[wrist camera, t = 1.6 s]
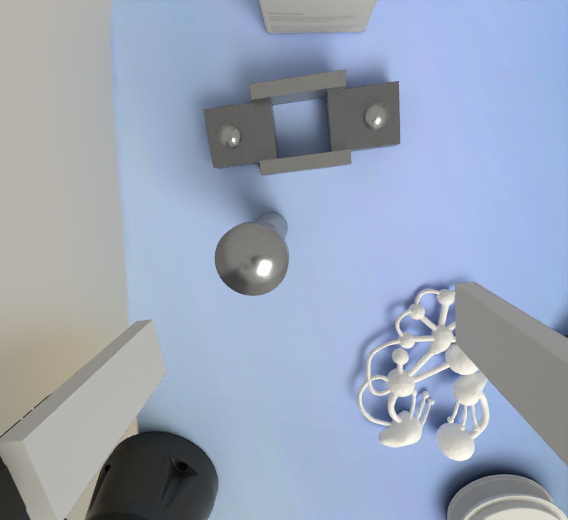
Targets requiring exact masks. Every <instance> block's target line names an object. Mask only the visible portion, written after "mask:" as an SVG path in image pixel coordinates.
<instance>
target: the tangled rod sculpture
mask: <svg viewBox="0 0 568 520" xmlns="http://www.w3.org/2000/svg"><path fill="white" fill-rule="evenodd" d="M426 293H434V294H437V296H436V298H437V301H438V302H439V303H440V304H442V308H441V312H440V317H439V321H438V325H437V326H436V325H435V324H434V323H432V322H431V321H430V320H429V319H428V318H426V317H425V316H424V314H425V309H424V308H423V306H422V305H420V304H419V300H420V298H421V297H422V295H423V294H426ZM454 294H455V290H453V291H450V290H448V289H442V290H440V291H438V290H434V289H425V290H422V291H421V292H420V293H419V294H418V295H417V296H416V299H415V303H414V304H412V305H410V306H409V308H408V310H406V311H404V312H402V313H401V314H400V315H399V316H398V317H397V319H396V321H395V328H396V331H397V333H398V334H399V336H398V339H395V340H392V341H388V342H386V343H383V344H381V345H379V346H377V347H376V348H374V349H373V350H372V351H371V352H370V353H369V355H368V357H367V361H366V379H367V380H365V382H364V383H363V384H362V385H361V387H360V389H359V392H358V397H357V401H358V405H359V408H360V410H361V412H362V413H363V414H364V416H365V417H367V418H368V419H369V420H370V421H372V422H374V423H378V424H381V425H386V426H387V427H386V428H385V429H383V430H382V431H381V432H380V433H379V441H380V442H381V443H382V444H383V445H386V446H390V447H401V446H405V445H409V444H413V443H415V442H417V441H418V440H419V439H420V437H421V434H422V427H423V425H424V423H425V421H426V418H427V416H428V413H429V410H430V406H431V405H433V404H434V403H435V401H434V399H433V398H428V397H429V392H427V391H423V392H422V400H421V403H420V407H419V410H418V412H417V414H416V416H414V415H413V413H414V409H415V403H416V395H417V389H415V388H414V387H415V383H416V382H418V381H420V380H422V379H425V378H427V377H429V376H431V375H433V374H436V373H438V372H440V371H442V370H444V369H447V368H449V367H450V368H451V369H452V370H453V371H454V372H456V373H458V374H461V376H460V377H459V378H458V379H457V380H456V381H455V382H454V383H453V385H452V394H453V396H454V398H455V399H456V405H455V408H454V412H453V414H452V416H451V417H448V418H447V421H448V423H444V424H443V425H441V426H440V428H439V429H438V431H437V434H436V439H437V443H438V446H439V448H440V450H441V451H442V452H443V453H444V454H445V455H446V456H447V457H449V458H450V459H453V460H457V461H463V460H467V459H469V458H470V457H471V456H472V454H473V452H474V445H475V444H474V441H473V439H474V438H476V437H477V436H478V435H479V434H480V433H481V432H482V431H483V430H484V429H485V428H486V426H487V424H488V421H489V418H490V417H489V408H488V402H487V398H486V396H485V394H484V393H483V392H482V390H483V388H484V386H485V384H486V382H487V377H486V376H485V375H484V374H483V373H482V372H481V371H477V370H478V368H477V367H476V365H475V364H474V363H473V362H472V361H471V360H470V359H469V358H468V357H467V356H466V355H465V353H464V352H463V351H462V350H461V349H460V348H459V347H458V346H457V345H456V343H453V344H451V342H456V336H453V333H452V330H453V329H455V321H454V322H453V323H451V324H450V325H448V326H445V321H446V317H447V313H448V308H449V305H450V304H452V303H453V301H454V299H455V296H454ZM407 314H408V315H409V316H410V317H411V318H412V319H416V320H418V319H420V320H421V321H422V322H424V323H425V324H426V325H427V326H428V327H429V328H431V329H432V333H431V335H429V336H413V335H412V334H411V333H409V332H403V333H402V331H401V330H400V327H399V322H400V320H401V319H402V318H403V317H404V316H405V315H407ZM420 341H431V343H430V346H429V351H428V352H427V353H426V354H425V355H424V356H423V357H422V358H421V359H420V360H419V361H418V362H417V363H416V364H415V365H414V366H413V367H412V368H411V369H410V370H409V371H407V370H405V369H403V364H405V363H407V361H408V359H409V357H408V353H407V352H406V351H405V350H404V349H401V348H398V349H395V350H394V351H393V353H392V358H393V360H394V362H395V363H397V368H396V369H393V370H391V371H390V372H389V373H388V375H387V377H386V376H383V375H373V376H372V377H371V376H370V364H371V358H372V357H373V355H374V354H375V353H376V352H378V351H379V350H381V349H382V348H385V347H387V346H389V345H393V344H398V343H399V344H400V345H401V346H402V347H404V348H411V347H412V346H413V345H414V343H415V342H420ZM450 344H451V345H450ZM445 350H446V352H445V361H446V362H445V363H443V364H441V365H439V366H437V367H434V368H432V369H430V370H428V371H426V372H424V373H421V374H419V375H417V376H415V377H413V376H412V375H413V374H414V373H415V372H416V371H417V370H418V369H419V368H420V367H421V366H423V365H424V364H425V363H426V362H427V361H428V360H429V359H430V358H431V357H432V356H433V355H436V354H438V353H440V352H443V351H445ZM375 379H382V380H385V381H386V383H387V386H388V389H386V390H384V391H380V392H379V391H376V390H374V388H373V386H372V383H371V381H373V380H375ZM367 385H368V387H369V390H370V391H371V392H372V393H373V394H374V395H378V396H382V395H386V394H388V393H390V392H392V393H391V395H390V397H389V400H388V404H387V407H388V412H389V415H390V416H391V418H392V419H393V420H392V422H387V421H383V420H379V419H375V418H373V417H372V416H370V415H369V414H368V413H367V412H366V410H365V409H364V407H363V405H362V393H363V391H364V389H365V388H366V387H367ZM410 394H412V405H411V410H410V412H408V411H405V410H404V411H402V412H400V413H399V414H396V412H395V410H394V405H395V401H396V399H397V397H398V396H400V397H406V396H408V395H410ZM426 398H428V400H427V402H428V403H427V407H426V410H425V413H424V416H423V418H422V420H421V422H420V421H419V417H420V415H421V412H422V409H423V406H424V404H425V399H426ZM478 400H480V404H481V410H482V417H481V420H480V422H479V423H478V424H477V421H476V417H475V404H476V403H477V402H478ZM459 403H461V404H462V405H464V409H463V419H462V423H460V424H458V423H454V418H455V416H456V414H457V411H458V407H459ZM467 406H471V412H472V419H473V423H474V425H473V430H471V431H470V432H468V430H467V429H466V428H465V421H466V416H467Z"/></svg>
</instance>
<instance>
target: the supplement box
mask: <svg viewBox="0 0 568 520" xmlns="http://www.w3.org/2000/svg"><path fill="white" fill-rule="evenodd" d="M259 3H260V7H261V12H262V16H263V20H264V24H265V28H266V32H267V33H342V32H364V31H365V30H366V27H367V25H368V22H369V20H370V17H371V15H372V12H373V10H374V8H375V5H376V3H377V0H259Z"/></svg>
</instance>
